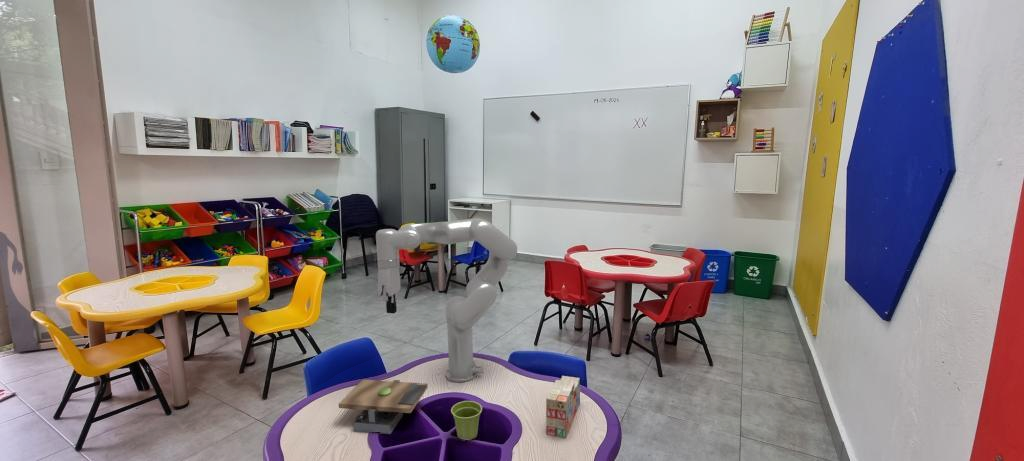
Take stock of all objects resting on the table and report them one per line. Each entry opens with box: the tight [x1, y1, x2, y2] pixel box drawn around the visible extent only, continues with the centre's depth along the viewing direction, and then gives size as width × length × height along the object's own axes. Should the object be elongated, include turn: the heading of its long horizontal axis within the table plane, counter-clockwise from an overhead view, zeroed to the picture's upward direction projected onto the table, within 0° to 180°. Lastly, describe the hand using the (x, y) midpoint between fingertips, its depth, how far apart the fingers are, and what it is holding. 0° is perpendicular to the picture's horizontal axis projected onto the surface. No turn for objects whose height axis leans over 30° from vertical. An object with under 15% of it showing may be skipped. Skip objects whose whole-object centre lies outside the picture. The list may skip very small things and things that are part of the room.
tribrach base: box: [353, 379, 404, 435], centre depth 149 cm, size 12×21×7 cm, turn 172°
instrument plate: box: [338, 379, 429, 414], centre depth 149 cm, size 24×16×4 cm, turn 82°
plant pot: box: [450, 400, 483, 441], centre depth 137 cm, size 9×9×9 cm
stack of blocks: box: [545, 375, 581, 439], centre depth 145 cm, size 21×6×12 cm, turn 160°
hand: (391, 312), depth 163 cm, fingers closed
